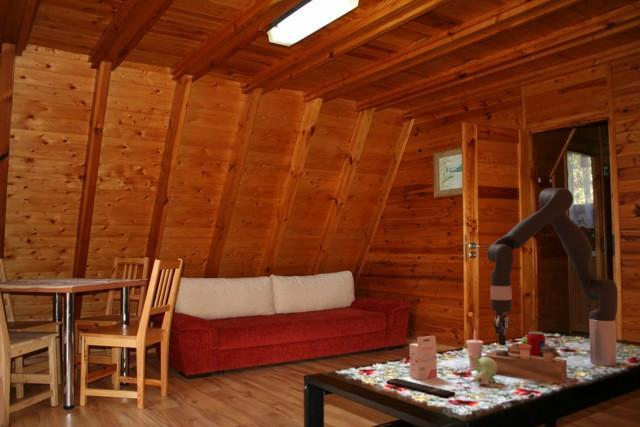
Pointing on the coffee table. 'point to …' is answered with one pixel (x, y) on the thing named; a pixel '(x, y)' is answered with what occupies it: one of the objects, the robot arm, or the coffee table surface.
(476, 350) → the smoothie
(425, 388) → the remote control
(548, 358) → the plunger
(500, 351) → the plunger
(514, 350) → the plant
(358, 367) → the coffee table surface
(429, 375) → the ink cartridge box
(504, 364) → the oak block
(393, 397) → the coffee table surface
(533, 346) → the beverage can
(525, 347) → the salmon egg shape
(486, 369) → the frog
